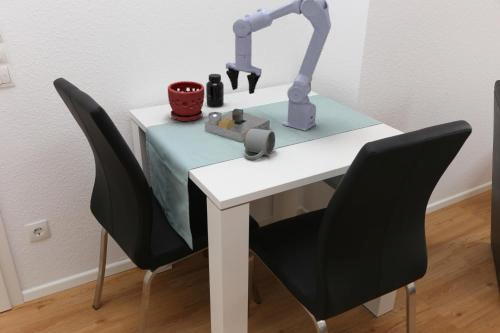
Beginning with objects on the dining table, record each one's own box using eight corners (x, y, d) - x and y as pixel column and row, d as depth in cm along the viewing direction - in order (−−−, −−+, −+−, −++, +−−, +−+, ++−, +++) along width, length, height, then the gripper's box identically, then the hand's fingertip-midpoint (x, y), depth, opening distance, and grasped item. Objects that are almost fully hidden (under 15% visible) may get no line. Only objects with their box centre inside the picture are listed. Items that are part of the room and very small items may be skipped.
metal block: (243, 128, 165) (243, 109, 162) (240, 131, 163) (240, 112, 160) (235, 127, 166) (234, 108, 163) (232, 130, 163) (232, 111, 160)
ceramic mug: (252, 145, 152) (252, 123, 149) (275, 149, 149) (276, 127, 146) (237, 158, 144) (237, 135, 140) (262, 163, 141) (262, 140, 137)
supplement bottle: (204, 106, 185) (202, 76, 180) (210, 101, 191) (209, 72, 186) (220, 108, 183) (219, 78, 178) (226, 103, 189) (225, 73, 184)
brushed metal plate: (269, 127, 166) (270, 111, 163) (241, 142, 154) (241, 125, 152) (233, 118, 174) (233, 102, 172) (205, 130, 163) (204, 114, 160)
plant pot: (163, 121, 171) (160, 89, 165) (179, 109, 182) (177, 79, 177) (196, 125, 167) (194, 93, 162) (210, 113, 178) (209, 82, 173)
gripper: (266, 54, 164) (265, 92, 170) (234, 48, 172) (234, 85, 178) (255, 58, 159) (254, 97, 165) (221, 52, 166) (222, 89, 173)
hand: (243, 91), depth 171 cm, fingers open, 7 cm apart
